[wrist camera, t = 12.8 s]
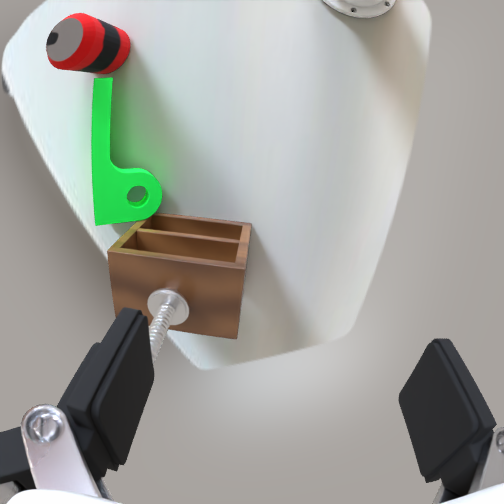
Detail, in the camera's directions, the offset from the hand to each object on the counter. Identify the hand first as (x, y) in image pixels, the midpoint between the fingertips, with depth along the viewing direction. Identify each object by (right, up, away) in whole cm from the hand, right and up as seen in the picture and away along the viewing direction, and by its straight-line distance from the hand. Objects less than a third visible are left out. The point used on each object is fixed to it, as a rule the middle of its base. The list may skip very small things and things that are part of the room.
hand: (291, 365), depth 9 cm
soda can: (-22, +33, +26) cm, 48 cm away
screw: (-10, -2, +26) cm, 28 cm away
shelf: (-10, +4, +39) cm, 40 cm away
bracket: (-19, +19, +32) cm, 42 cm away
